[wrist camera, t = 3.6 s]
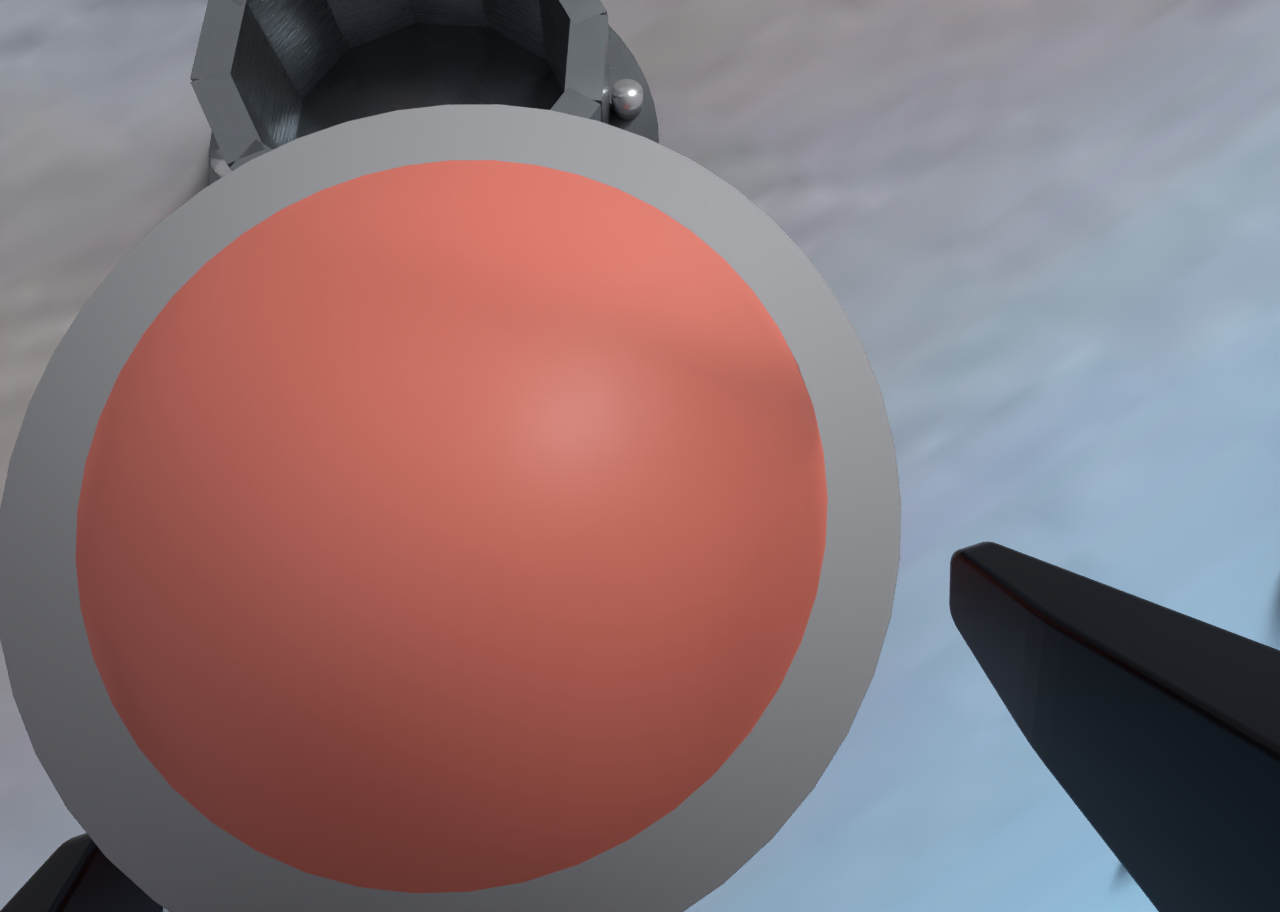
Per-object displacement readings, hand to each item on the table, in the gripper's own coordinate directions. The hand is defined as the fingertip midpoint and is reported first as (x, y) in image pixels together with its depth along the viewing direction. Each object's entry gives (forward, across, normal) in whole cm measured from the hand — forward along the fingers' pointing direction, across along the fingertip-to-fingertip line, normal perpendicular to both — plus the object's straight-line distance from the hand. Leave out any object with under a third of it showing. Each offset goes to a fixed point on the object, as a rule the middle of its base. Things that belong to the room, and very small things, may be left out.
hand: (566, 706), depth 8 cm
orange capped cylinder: (+8, 0, +5) cm, 9 cm away
